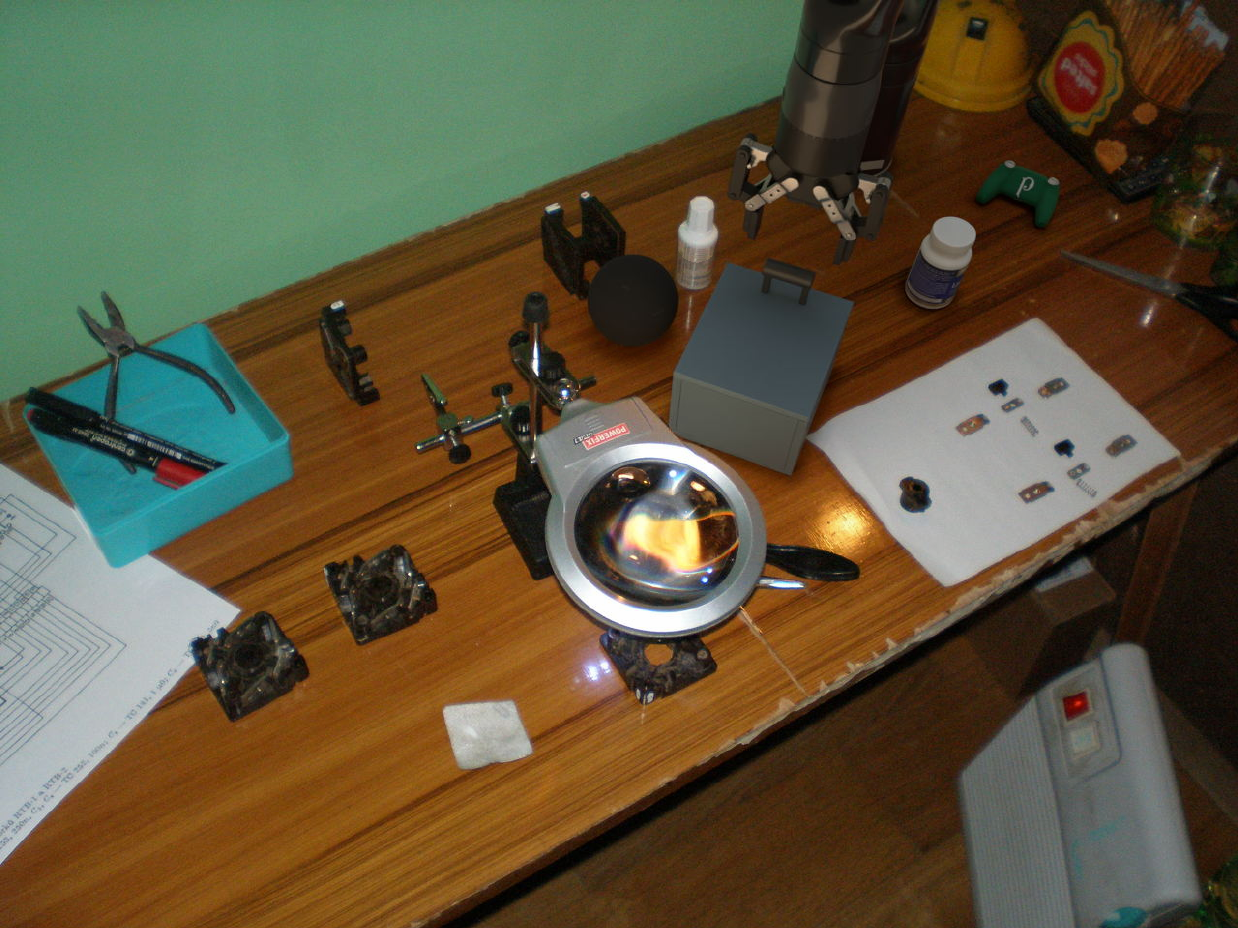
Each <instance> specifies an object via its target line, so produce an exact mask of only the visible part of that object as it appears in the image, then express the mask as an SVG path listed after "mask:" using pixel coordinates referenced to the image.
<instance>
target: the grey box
mask: <svg viewBox="0 0 1238 928" xmlns="http://www.w3.org/2000/svg"><path fill="white" fill-rule="evenodd" d="M849 320H850V317H849V318H848V321H847V323H846V326H845V329H844V331H843V334H842V336H841V339H840V341H839V344H838V347H837V349H836V352H835V354H834V357H833V360H832V362H831V365H830V367H829V370H828V372H827V375H826V378H825V380H824V383H823V385H822V388H821V391H820V393H819V396H818V398H817V401H816V403H815V406H814V409H813V411H812V414H811V416H810V419H809V421H808V423H807V422H804V421H801V420H799V419H796V418H793V417H790V416H787V415H784V414H781V413H778V412H775V411H772V410H769V409H767V408H764V407H761V406H758V405H755V404H752V403H749V402H746V401H743V400H740V399H737V398H734V397H732V396H729V395H726V394H723V393H720V392H717V391H714V390H711V389H708V388H705V387H702V386H699V385H697V384H694V383H691V382H688V381H685V380H682V379H679V378H676V377H673V376H672V386H671V397H670V405H669V406H670V407H669V417H668V426H669V427H670V428H671V429H672V431H673V432H674V433H675V434H676V435H675V436H677V437H679V438H683V439H685V440H688V441H691V442H694V443H696V444H699V445H702V446H705V447H707V448H711V449H714V450H717V451H719V452H722V453H724V454H727V455H730V456H734V457H736V458H738V459H742V460H745V461H747V462H750V463H753V464H755V465H758V466H760V467H761V466H762V467H764V468H767V469H769V470H770V469H771V470H772V471H776V472H778V473H781V474H784V475H787V476H790V477H792V475H793V473H794V470H795V468H796V465H797V462H798V460H799V457H800V454H801V452H802V449H803V447H804V443H805V441H806V438H807V436H808V434H809V431H810V429H811V426H812V423H813V421H814V418H815V415H816V413H817V410H818V408H819V405H820V403H821V400H822V397H823V394H824V392H825V390H826V387H827V384H828V383H829V379H830V376H831V374H832V371H833V368H834V365H835V362H836V359H837V356H838V353H839V349H840V347H841V344H842V341H843V339H844V334H845V331H846V328H847V326H848V322H849Z"/></svg>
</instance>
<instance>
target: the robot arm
mask: <svg viewBox="0 0 1238 928" xmlns="http://www.w3.org/2000/svg"><path fill="white" fill-rule="evenodd" d="M941 3H942V0H803V4H802V10H801V14H800V15H801V16H800V20H799V26H798V31H797V36H796V41H795V48H794V52H793V55H792V56H793V57H792V59H791V62H790V65H789V67H788V70H787V74H786V79H785V84H784V86H783V88H782V93H781V104H780V105H781V106H780V110H779V111H780V112H779V116H778V123H777V128H776V133H775V139H774V144H772V146H769V145H767V144H763V143H761V142H758V136H757V135H756V134H754V133H752V132H748V133H746V134H745V135H744V137H743V138H742V141H741V142H740V145H739V146H738V148H737V151H736V152H735V155H734V156H735V157H734V159H733V160H734V161H733V164H732V165H733V166H732V170H731V174H730V179H729V184H728V188H727V192H726V196H727V198H728V199H729V200H731V201H740V202H742V203H743V205H744V207H745V210H744V216H743V221H742V229H743V232H745V233H747V236H746V239H750V240H753V241H755V240H756V237H758V234H759V231H760V230H761V226H762V221H763V217H764V212H765V211H764V210H765V206H766V204H767V205H770V204H771V203H774V202H775V201H777V200H778V199H779V198H781V197H783V196H784V197H785V198H787V199H786V201H787V202H791V203H794V204H804V205H805V206H808V207H810V208H812V209H814V210H818V211H821V209H823V210H824V211H825V213H826V215H827V217H828V218H829V221H830V222H831V223H832V224H833V225H834V224H836V226H837V228H838V230H839V232H840V233H841V234H840V236H839V238H838V241H837V246H836V249H835V253H834V256H833V261H832V265H835V266H838V267H840V266H841V264H842V262H843V263H847V262H848V261H849V260H850V259H851V256H852V254H853V251H854V249H855V245H856V242H857V239H859V238H863V239H865V240H866V241H868V242H874V241H876V240H877V238H878V235H879V233H880V229H881V228H882V225H883V223H884V219H885V215H886V211H887V206H888V203H889V198H890V194H891V190H892V186H893V183H894V175H893V174H892V172H890V171H888V170H889V169H890V167H891V164H892V161H893V157H894V152H895V149H896V145H897V142H898V139H899V136H900V133H901V130H902V127H903V124H904V120H905V118H906V114H907V112H908V111H907V110H908V108H909V105H910V101H911V98H912V95H913V92H914V89H915V86H916V82H917V79H918V76H919V73H920V69H921V66H922V63H923V60H924V57H925V53H926V51H927V47H928V43H929V41H930V36H931V33H932V30H933V27H934V24H935V21H936V17H937V14H938V12H939V9H940V4H941ZM760 162H765V165H766V168H767V170H768V171H769V174H768V175H767V176H765V178H763V179H761V180H760V181H759V182H756V183H755V184H753V183H752V182H750V181H749V178H750V173H751V170H752V168H756V167H757V166H758V164H759V163H760ZM857 189H859V190H861V191H862V193H863V198H864V199H865V203H866V204H868V205H869V208H868V212H867V216H863V215H862V214H861V211H860V210H859V208H858V206H857V204H856V197H855V194H854V192H855V191H857Z"/></svg>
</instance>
